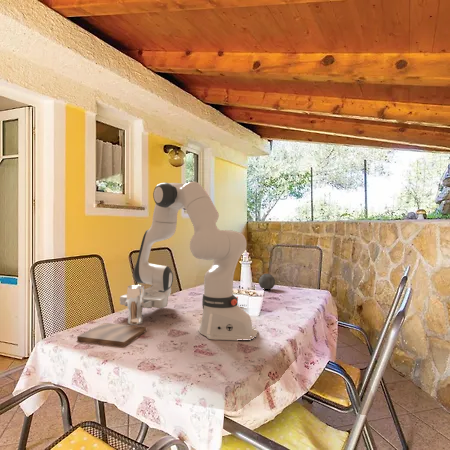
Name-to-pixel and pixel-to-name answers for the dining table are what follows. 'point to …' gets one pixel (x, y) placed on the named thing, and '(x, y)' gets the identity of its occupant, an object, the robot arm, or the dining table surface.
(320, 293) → the dining table surface
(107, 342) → the walnut board
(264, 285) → the decorative ball
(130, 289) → the beer glass
